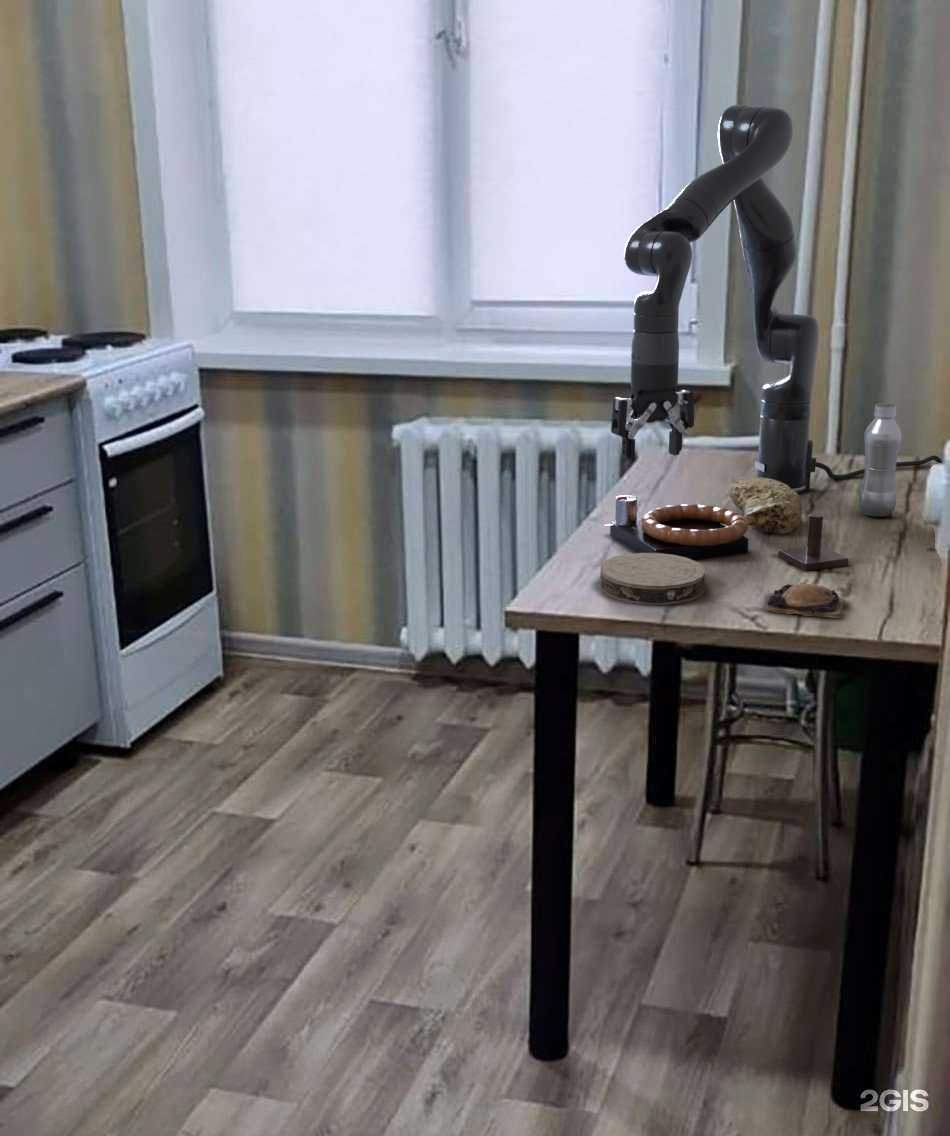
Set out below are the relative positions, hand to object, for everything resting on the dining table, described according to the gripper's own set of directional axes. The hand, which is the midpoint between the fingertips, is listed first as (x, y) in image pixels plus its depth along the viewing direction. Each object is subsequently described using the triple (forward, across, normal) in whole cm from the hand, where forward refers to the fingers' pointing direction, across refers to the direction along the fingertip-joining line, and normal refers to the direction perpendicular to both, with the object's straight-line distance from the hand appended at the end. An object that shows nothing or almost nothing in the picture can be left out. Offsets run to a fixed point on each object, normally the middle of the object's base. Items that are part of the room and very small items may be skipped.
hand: (652, 457), depth 223 cm
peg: (+16, +20, -18) cm, 31 cm away
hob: (+15, +4, +1) cm, 16 cm away
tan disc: (+16, -10, -17) cm, 25 cm away
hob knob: (+13, -1, +7) cm, 15 cm away
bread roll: (+16, +5, -35) cm, 38 cm away
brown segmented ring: (+12, +7, -3) cm, 14 cm away
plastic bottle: (+16, +46, -2) cm, 49 cm away
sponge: (+16, +27, +5) cm, 31 cm away
